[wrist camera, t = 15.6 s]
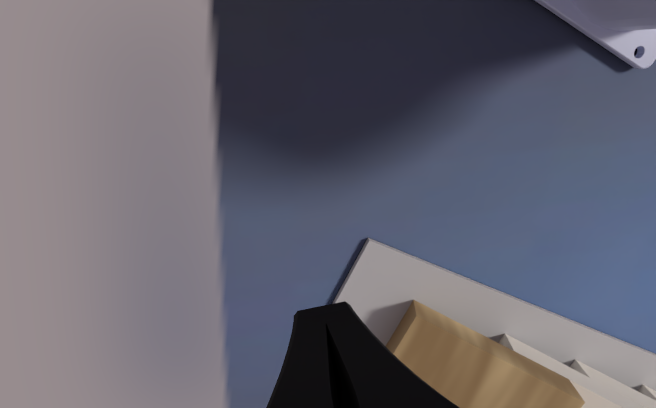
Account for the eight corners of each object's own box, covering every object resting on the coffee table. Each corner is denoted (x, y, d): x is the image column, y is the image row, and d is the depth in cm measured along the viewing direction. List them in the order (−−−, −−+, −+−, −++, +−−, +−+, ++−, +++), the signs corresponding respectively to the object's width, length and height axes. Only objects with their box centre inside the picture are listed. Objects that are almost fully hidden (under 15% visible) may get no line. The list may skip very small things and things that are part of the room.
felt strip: (291, 378, 23) (291, 382, 22) (368, 237, 21) (369, 240, 20) (676, 485, 32) (679, 488, 31) (758, 395, 30) (762, 398, 29)
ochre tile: (370, 391, 21) (529, 473, 21) (416, 315, 20) (585, 402, 20) (370, 370, 23) (517, 446, 23) (413, 299, 22) (568, 379, 22)
